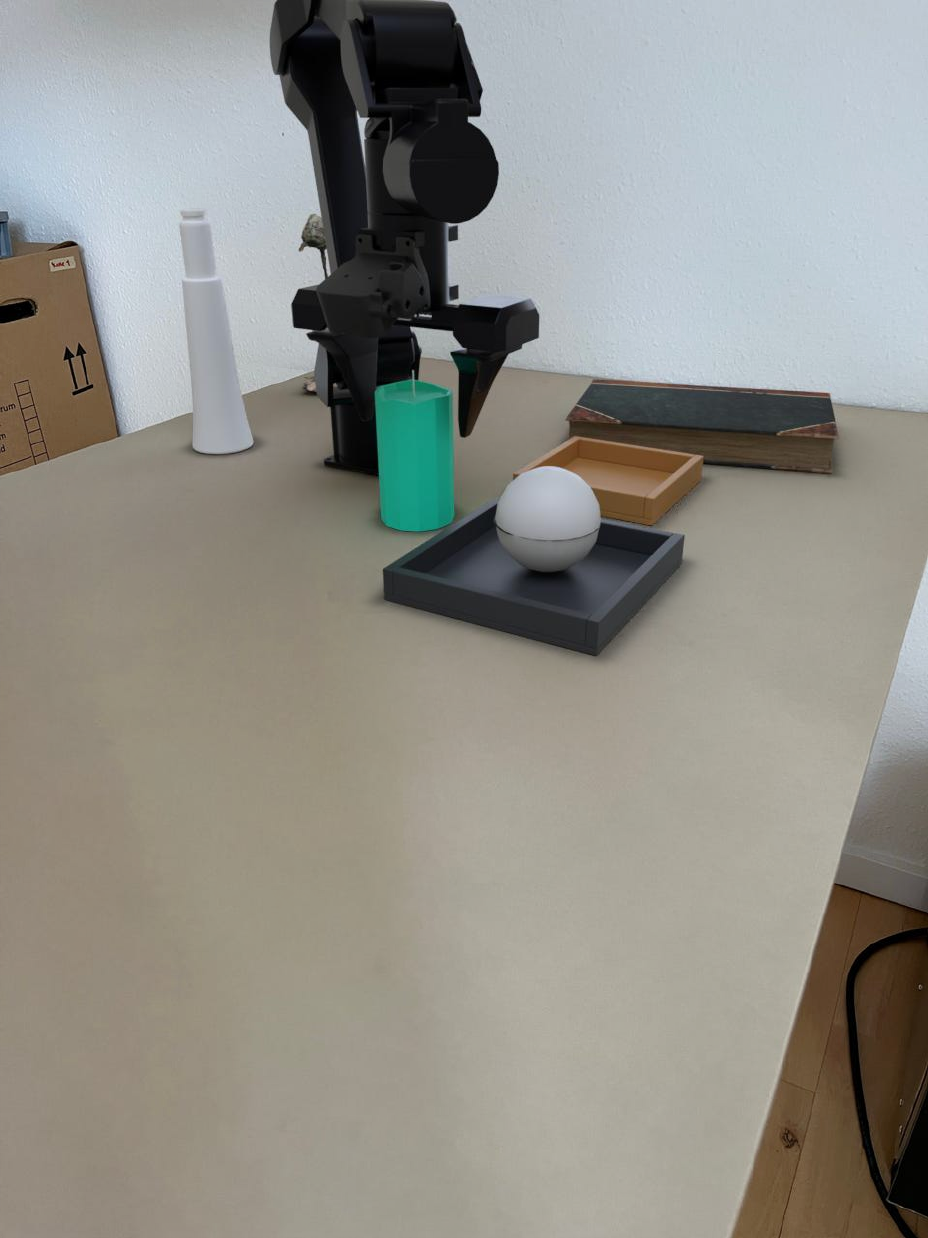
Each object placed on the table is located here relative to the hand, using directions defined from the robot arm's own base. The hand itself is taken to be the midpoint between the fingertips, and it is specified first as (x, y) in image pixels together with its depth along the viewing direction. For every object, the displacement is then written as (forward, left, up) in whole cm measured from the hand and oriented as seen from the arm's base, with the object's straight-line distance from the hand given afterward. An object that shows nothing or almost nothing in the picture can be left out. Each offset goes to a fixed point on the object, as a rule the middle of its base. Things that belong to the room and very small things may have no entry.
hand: (414, 427), depth 74 cm
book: (+13, +33, -8) cm, 36 cm away
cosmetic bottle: (-28, +7, -8) cm, 30 cm away
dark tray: (+14, -6, -8) cm, 17 cm away
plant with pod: (-31, +32, -8) cm, 45 cm away
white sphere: (+15, -6, -7) cm, 17 cm away
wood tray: (+11, +14, -8) cm, 19 cm away
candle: (0, 0, -8) cm, 8 cm away
